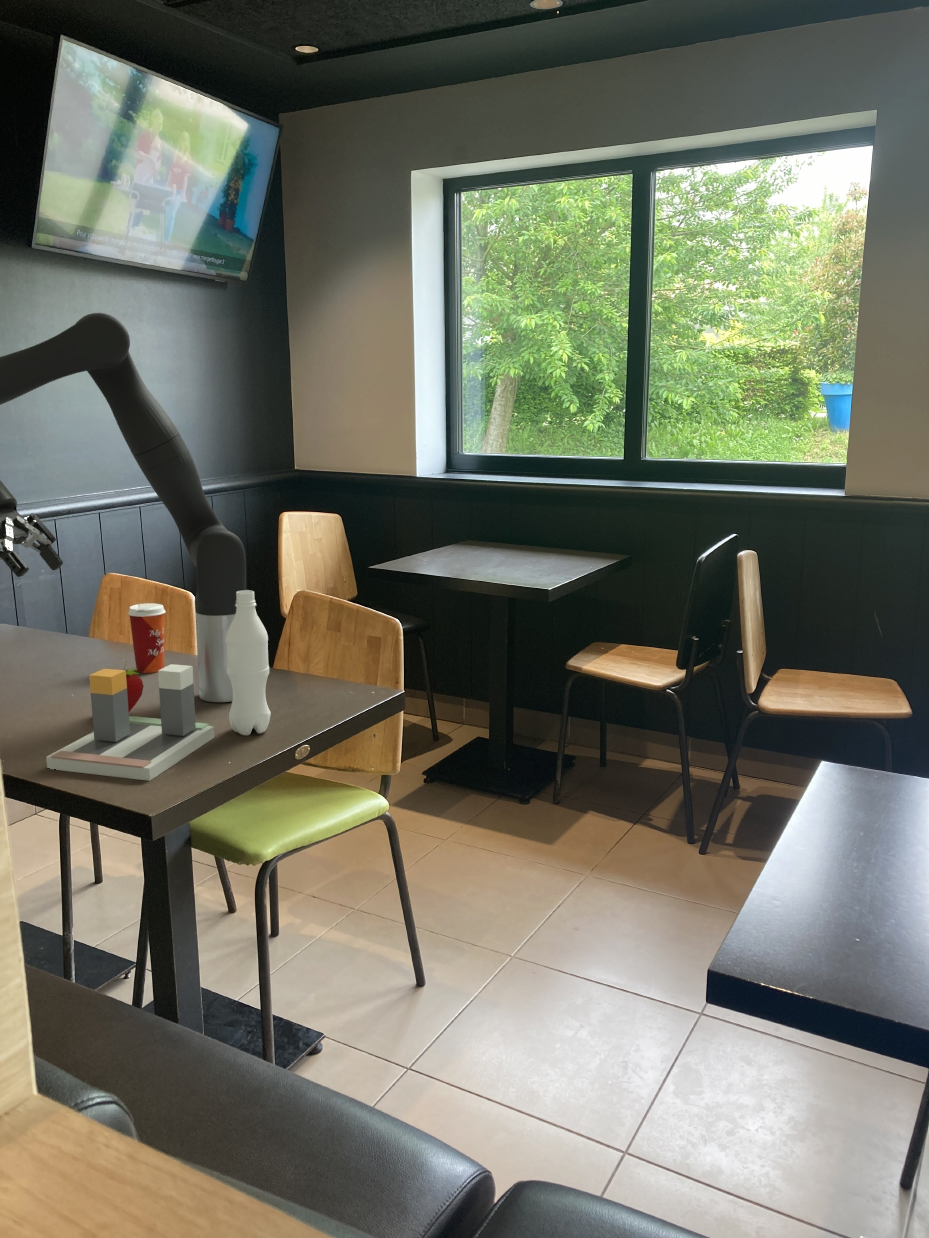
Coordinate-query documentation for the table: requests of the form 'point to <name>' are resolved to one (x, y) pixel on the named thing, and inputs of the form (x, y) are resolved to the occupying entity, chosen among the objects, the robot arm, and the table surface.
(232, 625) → the water bottle
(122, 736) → the orange-topped grey pillar
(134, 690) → the strawberry
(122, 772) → the grey base plate
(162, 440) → the robot arm
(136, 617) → the paper cup
